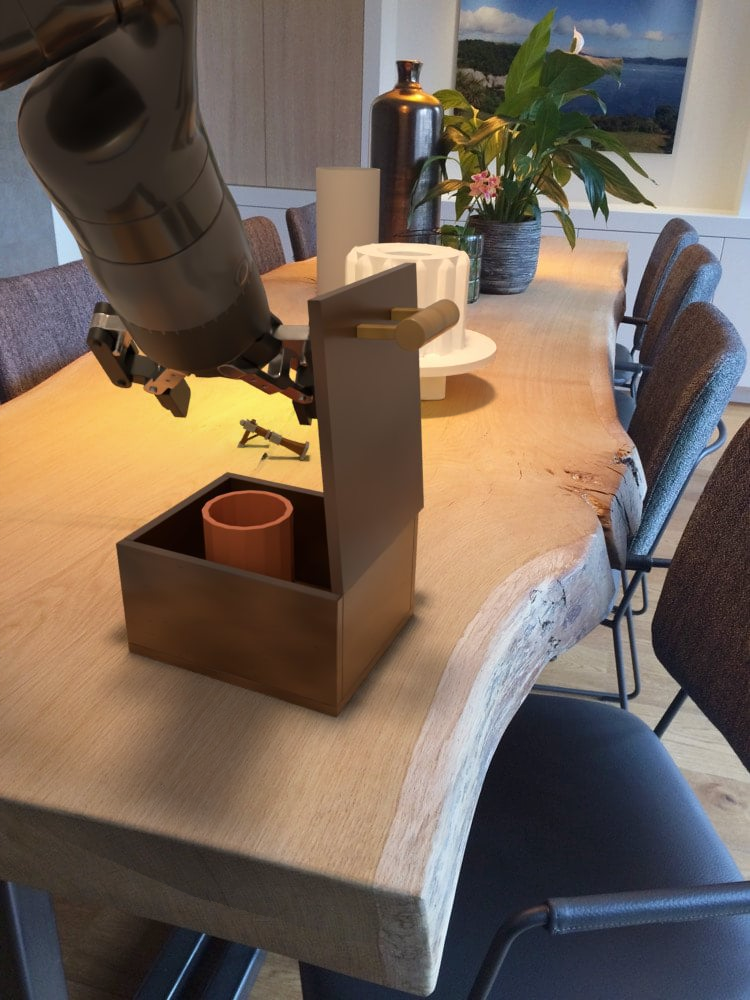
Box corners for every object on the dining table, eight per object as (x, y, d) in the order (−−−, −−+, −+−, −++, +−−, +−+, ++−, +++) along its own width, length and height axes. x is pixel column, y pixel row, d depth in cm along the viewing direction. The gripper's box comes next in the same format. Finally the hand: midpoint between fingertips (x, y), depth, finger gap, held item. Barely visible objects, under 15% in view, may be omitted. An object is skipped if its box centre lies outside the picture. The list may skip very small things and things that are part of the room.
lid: (306, 299, 43) (396, 302, 41) (405, 262, 54) (478, 262, 52) (331, 593, 50) (408, 607, 48) (414, 506, 61) (479, 514, 59)
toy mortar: (228, 446, 93) (243, 411, 91) (294, 473, 95) (310, 439, 93) (226, 452, 91) (241, 417, 89) (293, 480, 93) (309, 445, 91)
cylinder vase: (304, 296, 172) (303, 167, 162) (349, 289, 180) (351, 166, 169) (343, 307, 164) (344, 171, 153) (389, 299, 172) (393, 170, 161)
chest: (128, 651, 59) (115, 543, 56) (232, 566, 71) (227, 471, 67) (336, 717, 53) (337, 601, 50) (413, 613, 65) (418, 512, 61)
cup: (199, 636, 60) (190, 525, 56) (223, 591, 65) (216, 487, 62) (284, 644, 59) (281, 532, 55) (301, 597, 65) (300, 493, 61)
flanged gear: (323, 422, 103) (323, 267, 95) (306, 366, 126) (305, 236, 118) (515, 416, 107) (530, 267, 99) (466, 363, 130) (475, 237, 121)
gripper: (327, 204, 41) (356, 365, 56) (53, 193, 42) (153, 354, 58) (308, 336, 39) (343, 467, 54) (17, 320, 40) (132, 453, 55)
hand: (245, 409), depth 56 cm, fingers open, 8 cm apart
